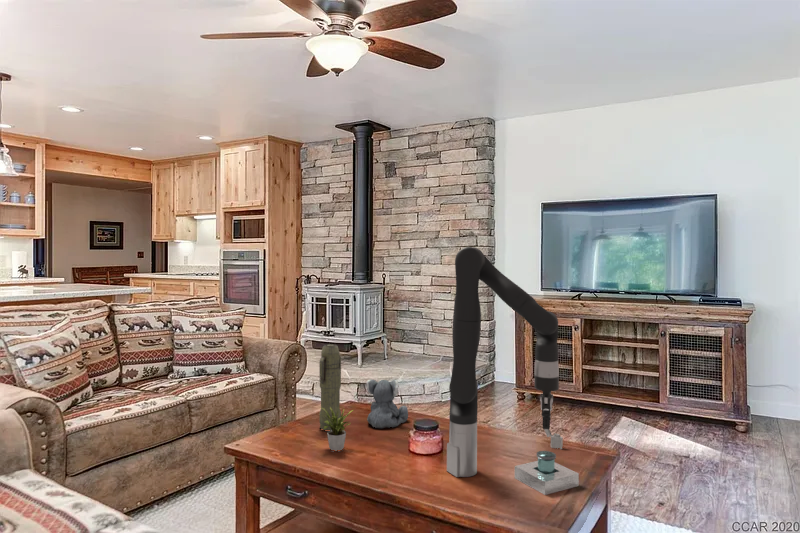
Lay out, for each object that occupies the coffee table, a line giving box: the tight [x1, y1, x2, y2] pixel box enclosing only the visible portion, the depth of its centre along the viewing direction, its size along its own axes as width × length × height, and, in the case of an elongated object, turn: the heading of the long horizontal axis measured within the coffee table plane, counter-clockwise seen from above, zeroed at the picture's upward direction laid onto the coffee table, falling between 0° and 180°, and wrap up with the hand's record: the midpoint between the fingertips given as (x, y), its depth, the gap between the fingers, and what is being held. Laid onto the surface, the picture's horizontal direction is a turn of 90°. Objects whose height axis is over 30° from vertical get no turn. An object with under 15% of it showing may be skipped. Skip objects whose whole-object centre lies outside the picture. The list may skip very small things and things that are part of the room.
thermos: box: [319, 343, 342, 430], centre depth 225 cm, size 9×12×35 cm
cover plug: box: [536, 450, 557, 475], centre depth 172 cm, size 6×6×9 cm
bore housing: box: [514, 460, 580, 496], centre depth 172 cm, size 14×14×4 cm
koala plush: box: [365, 379, 409, 429], centre depth 231 cm, size 17×18×20 cm
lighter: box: [543, 429, 564, 450], centre depth 204 cm, size 7×2×8 cm, turn 59°
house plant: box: [319, 407, 354, 451], centre depth 200 cm, size 14×14×16 cm
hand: (546, 424), depth 171 cm, fingers open, 8 cm apart
